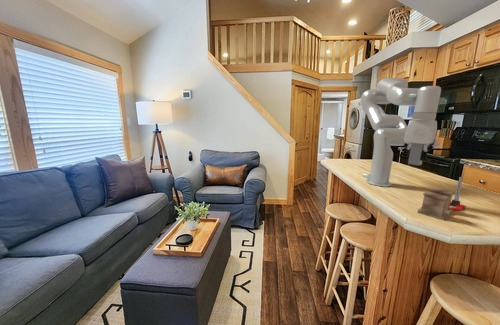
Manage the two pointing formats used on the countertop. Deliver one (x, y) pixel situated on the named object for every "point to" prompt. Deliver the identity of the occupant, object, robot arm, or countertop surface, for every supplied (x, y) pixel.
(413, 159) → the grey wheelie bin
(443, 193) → the ribbed brown block
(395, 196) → the countertop surface
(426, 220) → the countertop surface
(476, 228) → the countertop surface
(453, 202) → the tow hook
